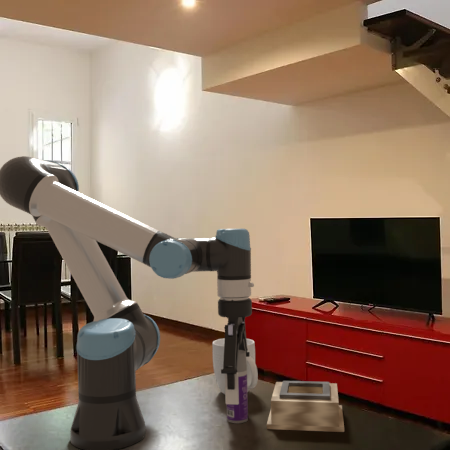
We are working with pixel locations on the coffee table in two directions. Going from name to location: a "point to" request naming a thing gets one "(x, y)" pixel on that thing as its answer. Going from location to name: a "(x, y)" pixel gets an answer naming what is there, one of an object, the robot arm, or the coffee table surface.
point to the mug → (219, 358)
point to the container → (240, 393)
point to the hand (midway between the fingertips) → (236, 394)
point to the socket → (305, 407)
